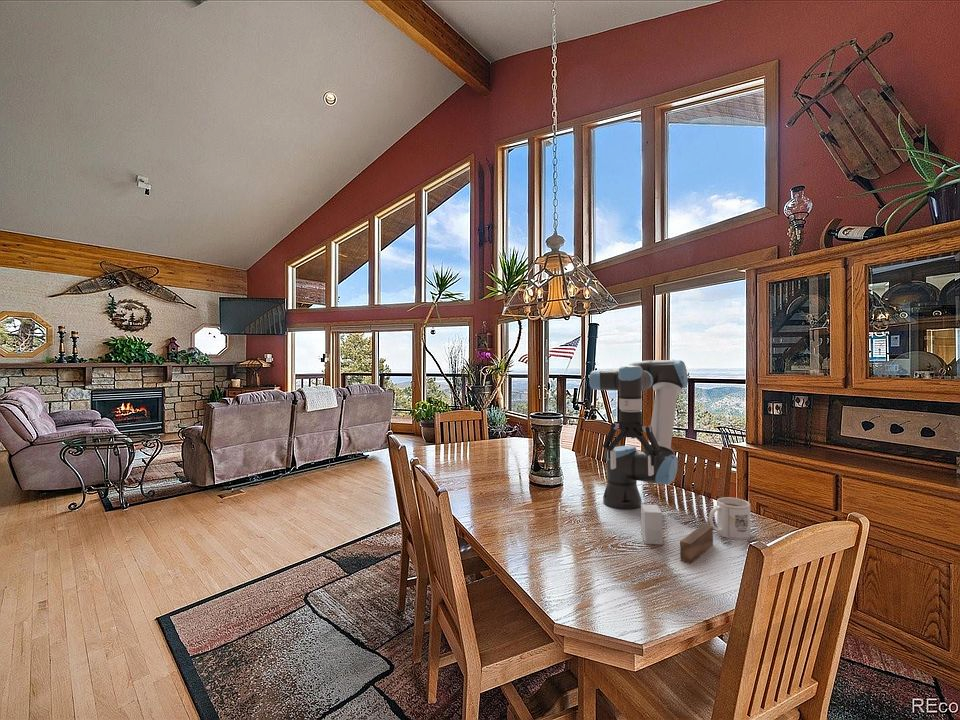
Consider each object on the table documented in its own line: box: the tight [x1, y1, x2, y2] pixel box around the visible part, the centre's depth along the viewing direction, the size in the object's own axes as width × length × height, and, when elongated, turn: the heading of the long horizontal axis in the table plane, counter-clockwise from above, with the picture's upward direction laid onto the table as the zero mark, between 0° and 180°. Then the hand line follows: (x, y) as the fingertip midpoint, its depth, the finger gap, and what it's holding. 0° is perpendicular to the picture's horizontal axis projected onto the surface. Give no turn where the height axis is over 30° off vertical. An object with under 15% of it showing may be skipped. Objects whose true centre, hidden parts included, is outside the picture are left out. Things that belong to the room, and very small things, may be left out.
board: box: [679, 523, 714, 565], centre depth 139 cm, size 3×18×6 cm, turn 134°
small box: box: [640, 503, 664, 545], centre depth 150 cm, size 8×6×10 cm
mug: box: [708, 496, 752, 541], centre depth 152 cm, size 10×12×11 cm
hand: (631, 471), depth 156 cm, fingers open, 13 cm apart
